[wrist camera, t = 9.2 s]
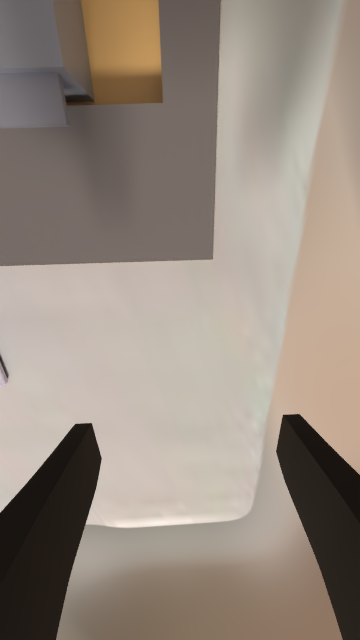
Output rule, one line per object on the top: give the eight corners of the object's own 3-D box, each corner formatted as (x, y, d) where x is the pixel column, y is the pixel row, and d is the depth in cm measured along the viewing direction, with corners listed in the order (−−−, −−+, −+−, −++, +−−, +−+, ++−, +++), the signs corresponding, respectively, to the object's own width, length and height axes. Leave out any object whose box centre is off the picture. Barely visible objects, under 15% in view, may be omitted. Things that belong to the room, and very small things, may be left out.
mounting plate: (-39, 260, 17) (-62, 267, 15) (-379, -574, 7) (-551, -812, 5) (209, 252, 17) (212, 259, 15) (228, -589, 7) (245, -831, 5)
